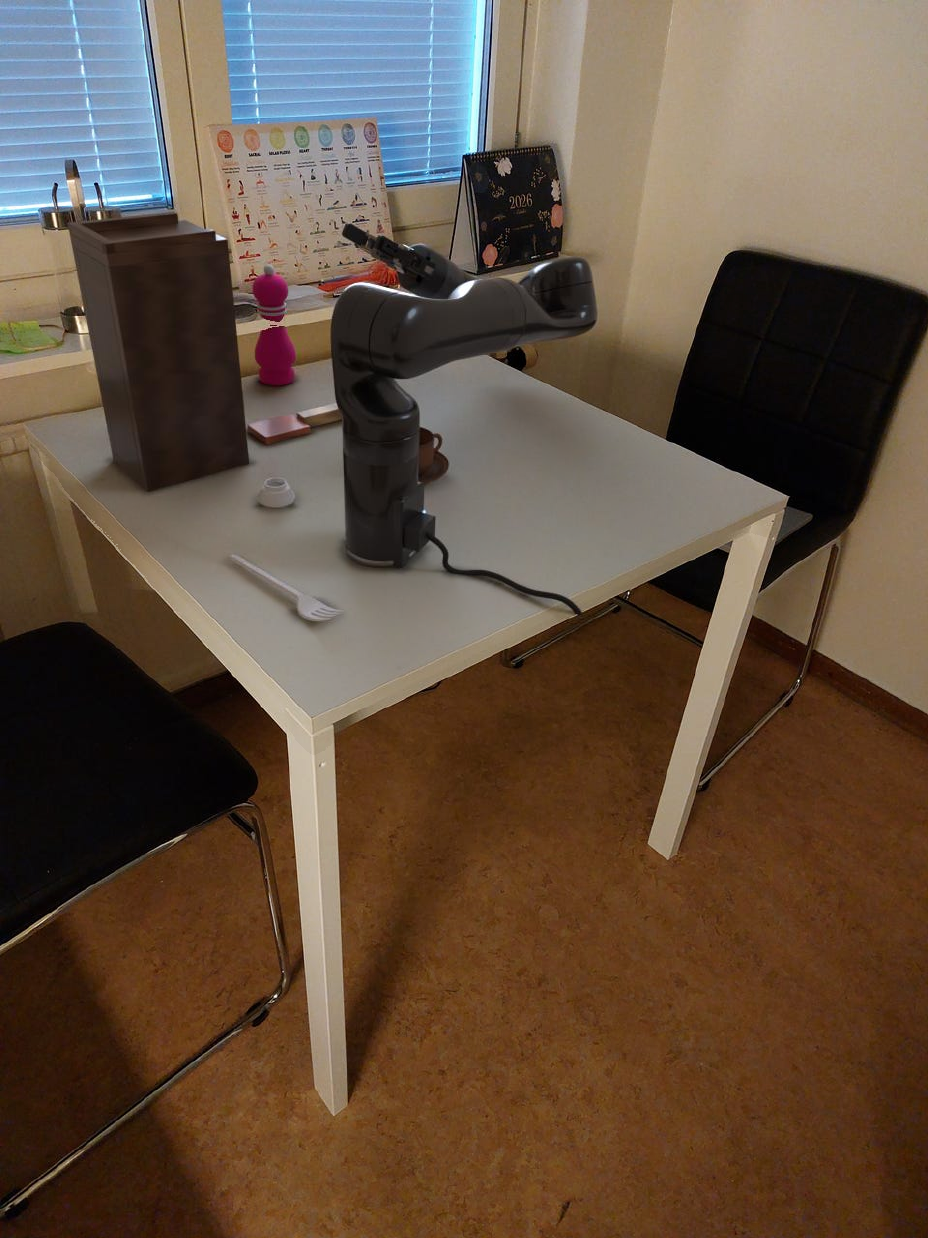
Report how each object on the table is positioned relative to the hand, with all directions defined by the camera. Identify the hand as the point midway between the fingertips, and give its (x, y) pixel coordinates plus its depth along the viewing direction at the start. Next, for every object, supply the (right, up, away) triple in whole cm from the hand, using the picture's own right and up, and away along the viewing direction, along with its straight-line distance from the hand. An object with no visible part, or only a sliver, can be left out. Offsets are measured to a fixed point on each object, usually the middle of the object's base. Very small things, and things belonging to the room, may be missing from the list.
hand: (360, 234), depth 135 cm
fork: (-6, -55, -27) cm, 62 cm away
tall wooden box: (-27, -35, -1) cm, 44 cm away
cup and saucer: (+7, -36, 0) cm, 37 cm away
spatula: (-9, -26, +13) cm, 30 cm away
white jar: (-11, -42, -9) cm, 44 cm away
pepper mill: (-18, -15, +27) cm, 36 cm away
